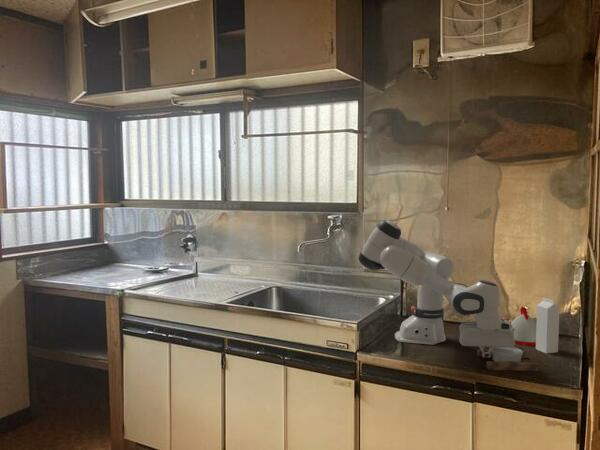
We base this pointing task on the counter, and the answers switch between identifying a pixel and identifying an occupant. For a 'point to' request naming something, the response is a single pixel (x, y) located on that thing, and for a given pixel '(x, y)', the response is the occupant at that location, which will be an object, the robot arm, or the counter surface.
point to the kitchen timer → (524, 329)
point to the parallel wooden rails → (509, 364)
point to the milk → (547, 326)
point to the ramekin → (507, 354)
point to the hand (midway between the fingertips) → (486, 357)
